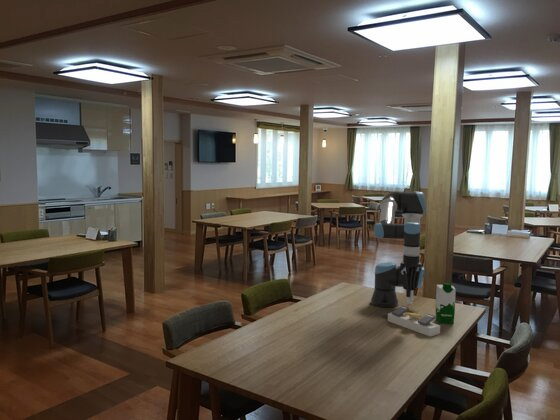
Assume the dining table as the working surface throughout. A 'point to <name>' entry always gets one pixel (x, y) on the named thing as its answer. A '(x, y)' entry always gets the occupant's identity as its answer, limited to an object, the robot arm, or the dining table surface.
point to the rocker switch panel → (413, 324)
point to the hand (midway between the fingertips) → (409, 303)
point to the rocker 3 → (426, 319)
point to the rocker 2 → (413, 315)
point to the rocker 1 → (400, 310)
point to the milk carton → (445, 303)
